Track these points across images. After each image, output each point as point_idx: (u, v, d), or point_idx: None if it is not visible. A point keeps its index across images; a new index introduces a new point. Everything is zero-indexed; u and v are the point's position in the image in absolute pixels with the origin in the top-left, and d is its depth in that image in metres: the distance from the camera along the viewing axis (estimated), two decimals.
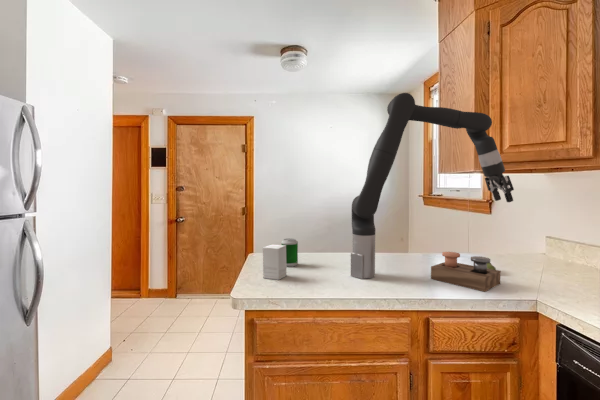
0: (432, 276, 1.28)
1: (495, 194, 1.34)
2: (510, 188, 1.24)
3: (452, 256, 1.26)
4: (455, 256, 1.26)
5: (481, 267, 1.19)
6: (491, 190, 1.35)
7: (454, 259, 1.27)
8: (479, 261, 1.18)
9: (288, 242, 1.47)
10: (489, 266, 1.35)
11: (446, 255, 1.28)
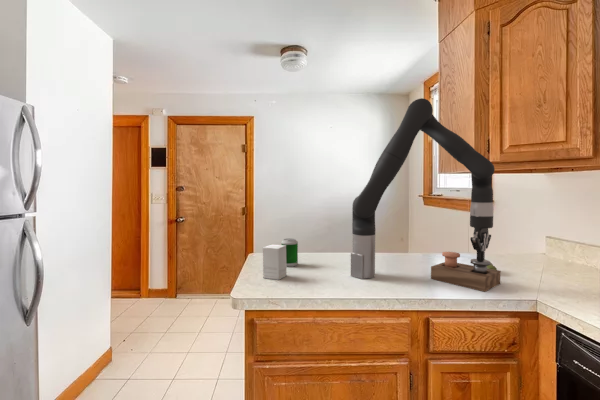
0: (432, 276, 1.28)
1: None
2: (478, 247, 1.19)
3: (452, 256, 1.26)
4: (455, 256, 1.26)
5: (481, 270, 1.19)
6: None
7: (454, 259, 1.27)
8: (479, 264, 1.18)
9: (288, 242, 1.47)
10: (490, 266, 1.34)
11: (446, 255, 1.28)
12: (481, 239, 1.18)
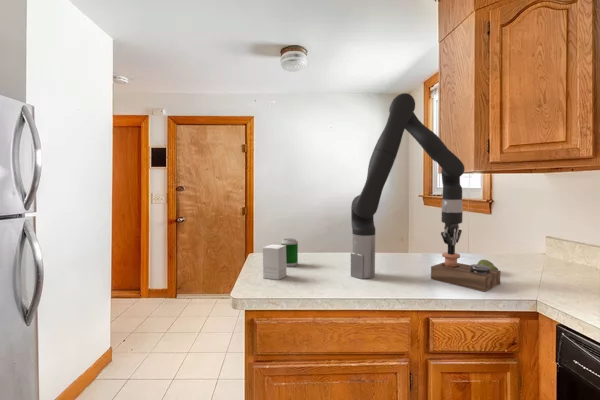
0: (432, 276, 1.28)
1: None
2: (448, 241, 1.27)
3: (452, 257, 1.26)
4: (455, 257, 1.26)
5: None
6: None
7: (454, 260, 1.27)
8: (479, 269, 1.18)
9: (288, 242, 1.47)
10: (491, 267, 1.33)
11: (446, 256, 1.28)
12: (451, 234, 1.27)
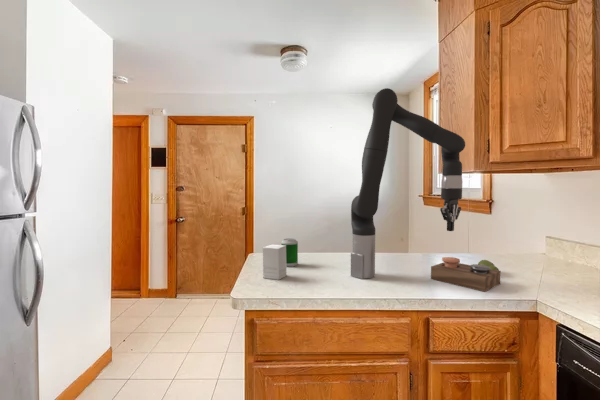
0: (432, 276, 1.28)
1: None
2: (447, 217, 1.27)
3: (452, 262, 1.26)
4: (455, 262, 1.26)
5: None
6: None
7: (454, 265, 1.27)
8: (479, 269, 1.18)
9: (288, 242, 1.47)
10: (492, 267, 1.33)
11: (446, 261, 1.28)
12: (450, 210, 1.26)
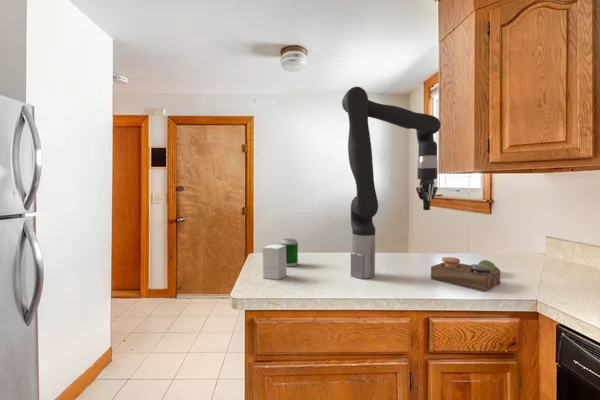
0: (432, 276, 1.28)
1: None
2: (423, 196, 1.30)
3: (452, 262, 1.26)
4: (455, 262, 1.26)
5: None
6: None
7: (454, 265, 1.27)
8: (479, 269, 1.18)
9: (288, 242, 1.47)
10: (493, 267, 1.32)
11: (446, 261, 1.28)
12: (426, 189, 1.30)
